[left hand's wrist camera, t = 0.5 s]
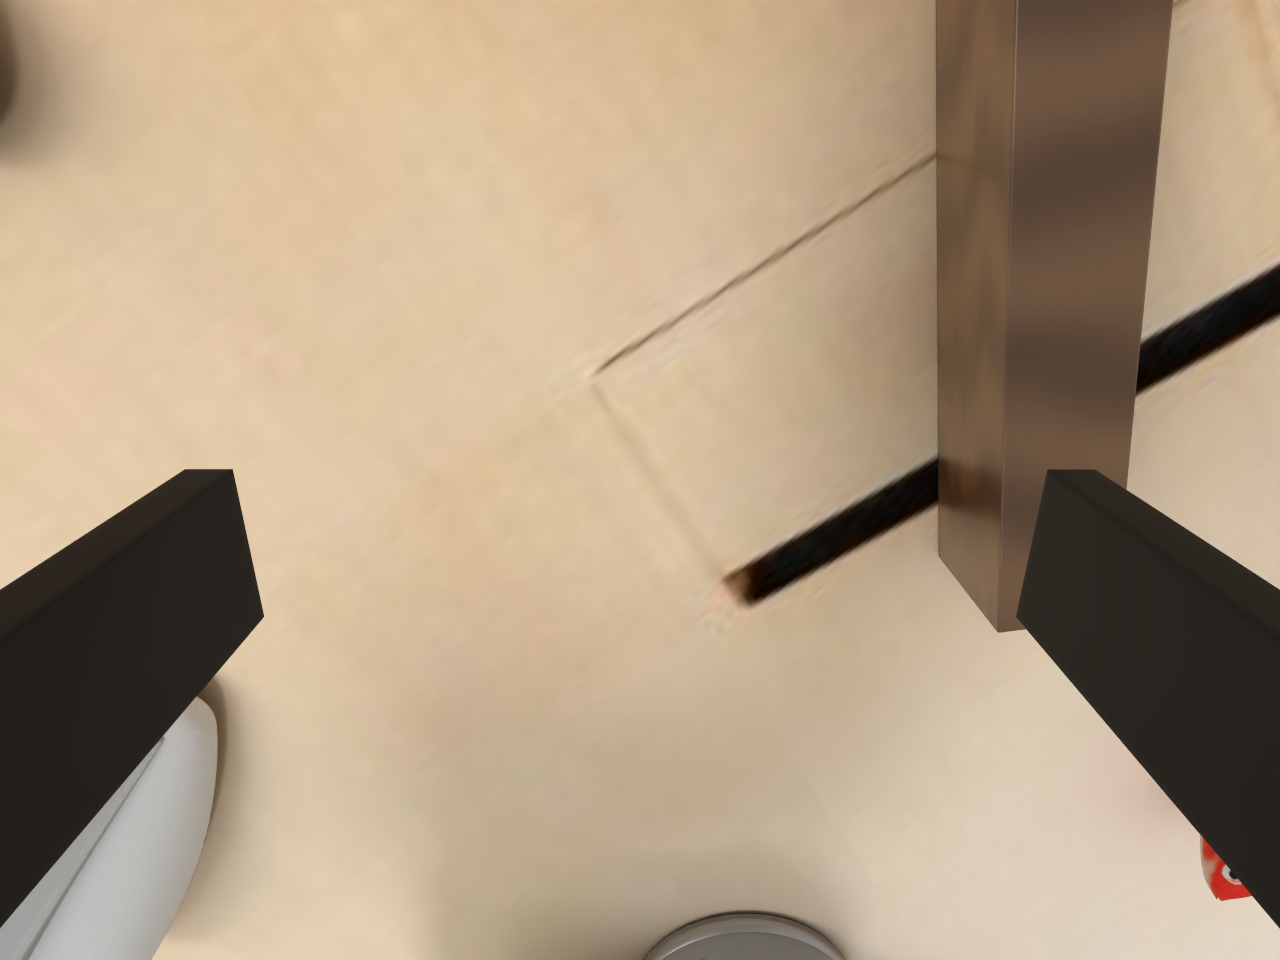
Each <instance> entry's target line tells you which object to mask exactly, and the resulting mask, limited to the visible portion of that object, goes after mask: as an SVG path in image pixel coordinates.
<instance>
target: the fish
mask: <svg viewBox="0 0 1280 960" xmlns="http://www.w3.org/2000/svg"><path fill="white" fill-rule="evenodd" d="M1200 852H1201V863H1202V869H1203V874H1204V876H1205V879H1206V882H1207V884H1208V886H1209V888H1210V889H1211V891H1212V893H1213V894H1214V896H1215V897H1216V899H1217V898H1218V897H1219V899H1220V900H1221V901H1224V900H1229V899H1236V898H1243V897H1249V896H1252V895H1251V894H1250V893H1249V891H1248V890H1247V889H1246V888H1245V887H1244V885H1243V884H1242V883H1241V882H1240V881H1239V880H1238V878H1237V877H1236V876H1235V875H1234V874H1233V872H1232V871H1231V870H1230V869H1229V868H1228V867H1227V865H1226V864H1225V863H1224V862H1223V861H1222V860H1221V858H1220V857H1219V856H1218V855H1217V854H1216V852H1215V851H1214V850H1213V849H1212V848H1211V847H1210V845H1209V844H1208V843H1207V842H1206V841H1205V839H1204V838H1203V837H1202V836H1201V835H1200Z"/></svg>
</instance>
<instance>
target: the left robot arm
mask: <svg viewBox="0 0 1280 960" xmlns="http://www.w3.org/2000/svg"><path fill="white" fill-rule="evenodd" d="M263 617H264V614H263V609H262V604H261V600H260V595H259V590H258V586H257V581H256V576H255V572H254V567H253V562H252V558H251V553H250V548H249V544H248V539H247V534H246V530H245V525H244V520H243V516H242V511H241V506H240V502H239V497H238V492H237V487H236V483H235V478H234V473H233V469H185V470H183V471H182V472H180V473H179V474H177V475H176V476H174V477H173V478H171V479H170V480H168V481H166V482H165V483H163V484H162V485H160V486H159V487H157V488H156V489H154V490H153V491H151V492H150V493H148V494H147V495H145V496H143V497H142V498H140V499H139V500H137V501H136V502H134V503H133V504H131V505H130V506H128V507H127V508H125V509H124V510H122V511H120V512H119V513H117V514H116V515H114V516H113V517H111V518H110V519H108V520H107V521H105V522H104V523H102V524H101V525H99V526H97V527H96V528H94V529H93V530H91V531H90V532H88V533H87V534H85V535H84V536H82V537H81V538H79V539H78V540H76V541H74V542H73V543H71V544H70V545H68V546H67V547H65V548H64V549H62V550H61V551H59V552H58V553H56V554H55V555H53V556H51V557H50V558H48V559H47V560H45V561H44V562H42V563H41V564H39V565H38V566H36V567H35V568H33V569H32V570H30V571H28V572H27V573H25V574H24V575H22V576H21V577H19V578H18V579H16V580H15V581H13V582H12V583H10V584H8V585H7V586H5V587H4V588H2V589H1V590H0V928H1V927H2V926H3V924H4V923H5V922H6V921H7V920H8V919H9V917H10V916H11V915H12V914H13V913H14V911H15V910H16V909H17V908H18V907H19V906H20V904H21V903H22V902H23V901H24V900H25V898H26V897H27V896H28V895H29V894H30V893H31V891H32V890H33V889H34V888H35V887H36V885H37V884H38V883H39V882H40V881H41V880H42V878H43V877H44V876H45V875H46V874H47V872H48V871H49V870H50V869H51V868H52V867H53V865H54V864H55V863H56V862H57V861H58V860H59V858H60V857H61V856H62V855H63V854H64V852H65V851H66V850H67V849H68V848H69V847H70V845H71V844H72V843H73V842H74V841H75V839H76V838H77V837H78V836H79V835H80V834H81V832H82V831H83V830H84V829H85V828H86V826H87V825H88V824H89V823H90V822H91V821H92V819H93V818H94V817H95V816H96V815H97V813H98V812H99V811H100V810H101V809H102V808H103V806H104V805H105V804H106V803H107V802H108V800H109V799H110V798H111V797H112V796H113V795H114V793H115V792H116V791H117V790H118V789H119V787H120V786H121V785H122V784H123V783H124V782H125V780H126V779H127V778H128V777H129V776H130V774H131V773H132V772H133V771H134V770H135V769H136V767H137V766H138V765H139V764H140V763H141V761H142V760H143V759H144V758H145V757H146V756H147V754H148V753H149V752H150V751H151V750H152V748H153V747H154V746H155V745H156V744H157V743H158V741H159V740H160V739H161V738H162V737H163V736H164V734H165V733H166V732H167V731H168V730H169V728H170V727H171V726H172V725H173V724H174V723H175V721H176V720H177V719H178V718H179V717H180V715H181V714H182V713H183V712H184V711H185V710H186V708H187V707H188V706H189V705H190V704H191V702H192V701H193V700H194V699H195V698H196V697H197V695H198V694H199V693H200V692H201V691H202V689H203V688H204V687H205V686H206V685H207V684H208V682H209V681H210V680H211V679H212V678H213V676H214V675H215V674H216V673H217V672H218V671H219V669H220V668H221V667H222V666H223V665H224V663H225V662H226V661H227V660H228V659H229V658H230V656H231V655H232V654H233V653H234V652H235V650H236V649H237V648H238V647H239V646H240V645H241V643H242V642H243V641H244V640H245V639H246V637H247V636H248V635H249V634H250V633H251V632H252V630H253V629H254V628H255V627H256V626H257V625H258V623H259V622H260V621H261V620H262V619H263ZM1016 617H1017V619H1018V620H1019V621H1020V622H1021V623H1022V625H1023V626H1024V627H1025V628H1026V629H1027V630H1028V632H1029V633H1030V634H1031V635H1032V636H1033V637H1034V639H1035V640H1036V641H1037V642H1038V643H1039V645H1040V646H1041V647H1042V648H1043V649H1044V650H1045V652H1046V653H1047V654H1048V655H1049V656H1050V658H1051V659H1052V660H1053V661H1054V662H1055V663H1056V665H1057V666H1058V667H1059V668H1060V669H1061V671H1062V672H1063V673H1064V674H1065V675H1066V676H1067V678H1068V679H1069V680H1070V681H1071V682H1072V684H1073V685H1074V686H1075V687H1076V688H1077V689H1078V691H1079V692H1080V693H1081V694H1082V695H1083V697H1084V698H1085V699H1086V700H1087V701H1088V702H1089V704H1090V705H1091V706H1092V707H1093V708H1094V710H1095V711H1096V712H1097V713H1098V714H1099V715H1100V717H1101V718H1102V719H1103V720H1104V721H1105V723H1106V724H1107V725H1108V726H1109V727H1110V728H1111V730H1112V731H1113V732H1114V733H1115V734H1116V736H1117V737H1118V738H1119V739H1120V740H1121V741H1122V743H1123V744H1124V745H1125V746H1126V747H1127V748H1128V750H1129V751H1130V752H1131V753H1132V754H1133V756H1134V757H1135V758H1136V759H1137V760H1138V761H1139V763H1140V764H1141V765H1142V766H1143V767H1144V769H1145V770H1146V771H1147V772H1148V773H1149V774H1150V776H1151V777H1152V778H1153V779H1154V780H1155V782H1156V783H1157V784H1158V785H1159V786H1160V787H1161V789H1162V790H1163V791H1164V792H1165V793H1166V795H1167V796H1168V797H1169V798H1170V799H1171V800H1172V802H1173V803H1174V804H1175V805H1176V806H1177V808H1178V809H1179V810H1180V811H1181V812H1182V813H1183V815H1184V816H1185V817H1186V818H1187V819H1188V821H1189V822H1190V823H1191V824H1192V825H1193V826H1194V828H1195V829H1196V830H1197V831H1198V832H1199V834H1200V835H1201V836H1202V837H1203V838H1204V839H1205V841H1206V842H1207V843H1208V844H1209V845H1210V847H1211V848H1212V849H1213V850H1214V851H1215V852H1216V854H1217V855H1218V856H1219V857H1220V858H1221V860H1222V861H1223V862H1224V863H1225V864H1226V865H1227V867H1228V868H1229V869H1230V870H1231V871H1232V872H1233V874H1234V875H1235V876H1236V877H1237V878H1238V880H1239V881H1240V882H1241V883H1242V884H1243V885H1244V887H1245V888H1246V889H1247V890H1248V891H1249V893H1250V894H1251V895H1252V896H1253V897H1254V898H1255V900H1256V901H1257V902H1258V903H1259V904H1260V906H1261V907H1262V908H1263V909H1264V910H1265V911H1266V913H1267V914H1268V915H1269V916H1270V917H1271V919H1272V920H1273V921H1274V922H1275V923H1276V924H1277V926H1278V927H1279V928H1280V590H1279V589H1278V588H1276V587H1275V586H1273V585H1272V584H1270V583H1268V582H1267V581H1265V580H1264V579H1262V578H1261V577H1259V576H1258V575H1256V574H1255V573H1253V572H1252V571H1250V570H1249V569H1247V568H1245V567H1244V566H1242V565H1241V564H1239V563H1238V562H1236V561H1235V560H1233V559H1232V558H1230V557H1229V556H1227V555H1225V554H1224V553H1222V552H1221V551H1219V550H1218V549H1216V548H1215V547H1213V546H1212V545H1210V544H1209V543H1207V542H1206V541H1204V540H1202V539H1201V538H1199V537H1198V536H1196V535H1195V534H1193V533H1192V532H1190V531H1189V530H1187V529H1186V528H1184V527H1183V526H1181V525H1179V524H1178V523H1176V522H1175V521H1173V520H1172V519H1170V518H1169V517H1167V516H1166V515H1164V514H1163V513H1161V512H1160V511H1158V510H1156V509H1155V508H1153V507H1152V506H1150V505H1149V504H1147V503H1146V502H1144V501H1143V500H1141V499H1140V498H1138V497H1137V496H1135V495H1133V494H1132V493H1130V492H1129V491H1127V490H1126V489H1124V488H1123V487H1121V486H1120V485H1118V484H1117V483H1115V482H1114V481H1112V480H1110V479H1109V478H1107V477H1106V476H1104V475H1103V474H1101V473H1100V472H1098V471H1097V470H1095V469H1047V473H1046V478H1045V483H1044V487H1043V492H1042V497H1041V502H1040V506H1039V511H1038V516H1037V520H1036V525H1035V530H1034V534H1033V539H1032V544H1031V548H1030V553H1029V558H1028V562H1027V567H1026V572H1025V576H1024V581H1023V586H1022V590H1021V595H1020V600H1019V604H1018V609H1017V614H1016ZM644 960H843V958H842V956H841V955H840V953H839V952H838V951H837V949H836V948H835V947H834V946H833V945H832V944H831V943H830V942H829V941H828V940H827V939H826V938H824V937H823V936H822V935H821V934H819V933H817V932H816V931H814V930H813V929H811V928H809V927H807V926H805V925H802V924H800V923H797V922H795V921H791V920H788V919H785V918H780V917H776V916H770V915H762V914H731V915H724V916H718V917H713V918H708V919H705V920H701V921H698V922H695V923H693V924H690V925H688V926H685V927H683V928H681V929H679V930H677V931H676V932H674V933H672V934H670V935H669V936H667V937H666V938H664V939H663V940H662V941H661V942H659V943H658V944H657V945H656V946H655V947H654V948H653V949H652V950H651V951H650V952H649V953H648V955H647V956H646V957H645V959H644Z"/></svg>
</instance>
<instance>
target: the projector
mask: <svg viewBox="0 0 1280 960" xmlns="http://www.w3.org/2000/svg"><path fill="white" fill-rule="evenodd" d="M217 754H218V735H217V723H216V719H215V716H214V713H213V711H212V710H211V709H210V707H209V706H208V705H207V704H206V703H205V702H204V701H203V700H201V699H200V698H198V697H196V698H195V699H194V700H193V701H192V702H191V704H190V705H189V706H188V707H187V708H186V710H185V711H184V712H183V713H182V714H181V715H180V717H179V718H178V719H177V720H176V721H175V723H174V724H173V725H172V726H171V727H170V728H169V730H168V731H167V732H166V733H165V734H164V736H163V737H162V738H161V739H160V740H159V741H158V743H157V744H156V745H155V746H154V747H153V748H152V750H151V751H150V752H149V753H148V754H147V756H146V757H145V758H144V759H143V760H142V761H141V763H140V764H139V765H138V766H137V767H136V769H135V770H134V771H133V772H132V773H131V774H130V776H129V777H128V778H127V779H126V780H125V782H124V783H123V784H122V785H121V786H120V787H119V789H118V790H117V791H116V792H115V793H114V795H113V796H112V797H111V798H110V799H109V800H108V802H107V803H106V804H105V805H104V806H103V808H102V809H101V810H100V811H99V812H98V813H97V815H96V816H95V817H94V818H93V819H92V821H91V822H90V823H89V824H88V825H87V826H86V828H85V829H84V830H83V831H82V832H81V834H80V835H79V836H78V837H77V838H76V839H75V841H74V842H73V843H72V844H71V845H70V847H69V848H68V849H67V850H66V851H65V852H64V854H63V855H62V856H61V857H60V858H59V860H58V861H57V862H56V863H55V864H54V865H53V867H52V868H51V869H50V870H49V871H48V872H47V874H46V875H45V876H44V877H43V878H42V880H41V881H40V882H39V883H38V884H37V885H36V887H35V888H34V889H33V890H32V891H31V893H30V894H29V895H28V896H27V897H26V898H25V900H24V901H23V902H22V903H21V904H20V906H19V907H18V908H17V909H16V910H15V911H14V913H13V914H12V915H11V916H10V917H9V919H8V920H7V921H6V922H5V923H4V924H3V926H2V927H1V928H0V960H151V959H152V957H153V956H154V954H155V952H156V951H157V949H158V947H159V945H160V944H161V942H162V940H163V938H164V937H165V935H166V933H167V931H168V929H169V927H170V926H171V924H172V922H173V920H174V918H175V916H176V914H177V912H178V910H179V907H180V905H181V903H182V901H183V899H184V897H185V894H186V892H187V890H188V888H189V885H190V882H191V880H192V877H193V875H194V872H195V870H196V867H197V864H198V861H199V858H200V854H201V851H202V848H203V845H204V842H205V838H206V834H207V829H208V825H209V820H210V815H211V810H212V804H213V798H214V791H215V782H216V771H217Z"/></svg>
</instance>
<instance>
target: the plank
mask: <svg viewBox="0 0 1280 960" xmlns="http://www.w3.org/2000/svg"><path fill="white" fill-rule="evenodd" d="M1172 6H1173V0H936V94H937V303H938V511H939V557H940V559H941V560H942V561H943V562H944V564H945V565H946V566H947V568H948V569H949V570H950V571H951V573H952V574H953V575H954V577H955V578H956V579H957V580H958V582H959V583H960V584H961V586H962V587H963V588H964V590H965V591H966V592H967V593H968V595H969V596H970V597H971V599H972V600H973V601H974V602H975V604H976V605H977V606H978V608H979V609H980V610H981V611H982V613H983V614H984V615H985V617H986V618H987V619H988V620H989V622H990V623H991V624H992V626H993V627H994V628H995V630H996V631H997V632H999V633H1000V632H1008V631H1016V630H1024V629H1026V628H1025V627H1024V626H1023V625H1022V623H1021V622H1020V621H1019V620H1018V619H1017V617H1016V614H1017V609H1018V604H1019V600H1020V595H1021V590H1022V586H1023V581H1024V576H1025V572H1026V567H1027V562H1028V558H1029V553H1030V548H1031V544H1032V539H1033V534H1034V530H1035V525H1036V520H1037V516H1038V511H1039V506H1040V502H1041V497H1042V492H1043V487H1044V483H1045V478H1046V473H1047V469H1095V470H1097V471H1098V472H1100V473H1101V474H1103V475H1104V476H1106V477H1107V478H1109V479H1110V480H1112V481H1114V482H1115V483H1117V484H1118V485H1120V486H1121V487H1123V488H1124V489H1126V488H1127V477H1128V467H1129V456H1130V446H1131V435H1132V425H1133V414H1134V404H1135V393H1136V383H1137V372H1138V362H1139V351H1140V341H1141V330H1142V320H1143V310H1144V299H1145V289H1146V278H1147V268H1148V257H1149V247H1150V236H1151V226H1152V215H1153V205H1154V194H1155V184H1156V173H1157V163H1158V152H1159V142H1160V131H1161V121H1162V111H1163V100H1164V90H1165V79H1166V69H1167V58H1168V48H1169V37H1170V27H1171V16H1172Z"/></svg>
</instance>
